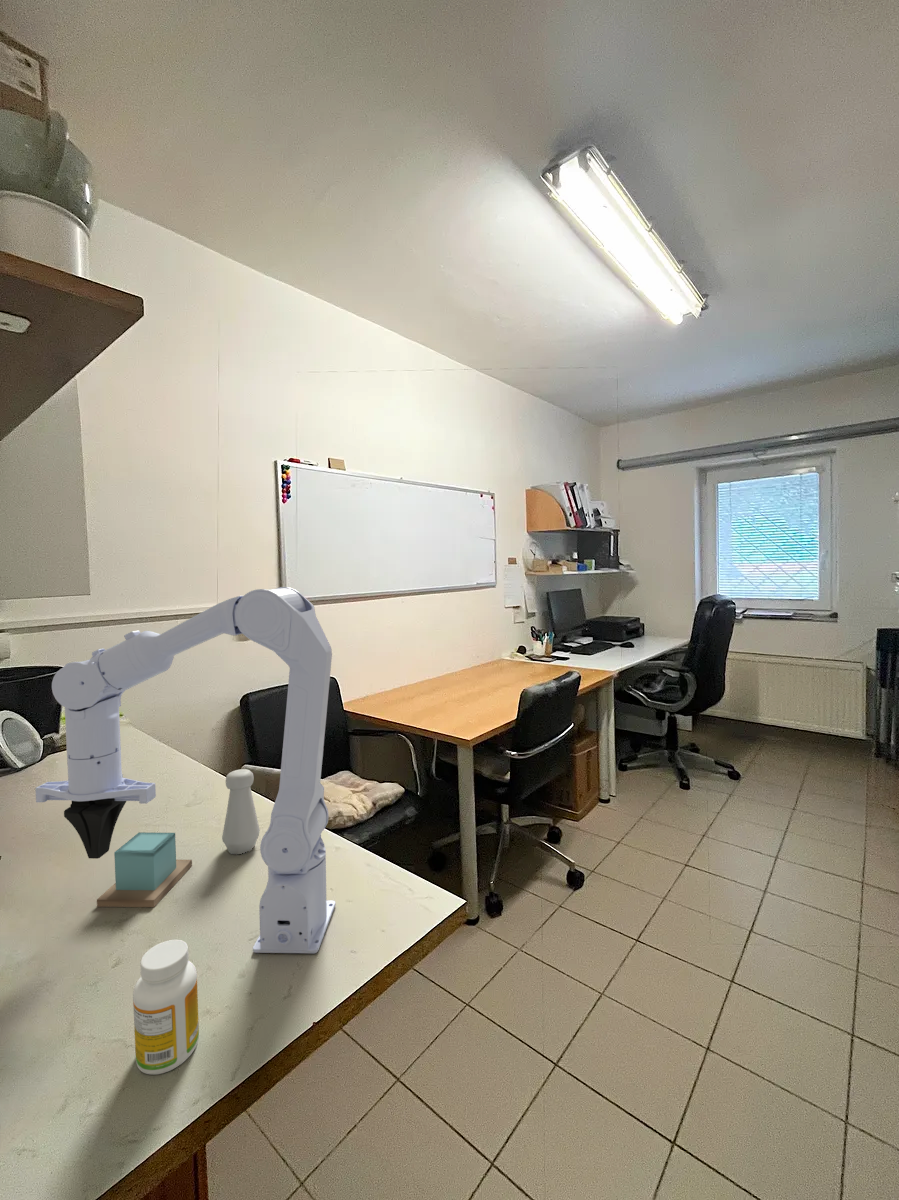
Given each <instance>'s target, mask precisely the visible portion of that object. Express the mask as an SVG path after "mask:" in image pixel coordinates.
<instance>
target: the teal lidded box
mask: <svg viewBox="0 0 899 1200" xmlns="http://www.w3.org/2000/svg"><path fill="white" fill-rule="evenodd" d="M113 855H114V875H115V877H114V878H115V883H116V890H156V888H157V887H158V886H159V885H160V884H161V883H162V882H163V881H164V880H165V879H166V878H167V877H168V876H169V875H170V874H171V873H172V872H173V871H174V870H175V869H176V860H177V845H176V832H148V831H147V832H139V831H138V833H137V834H135V835H134V836H133V837H131V838H130V839H129V840H127V842H125V843H124V844H123V845H122V846H120V847H119V848H118V849H117V850H115V851H114V853H113Z"/></svg>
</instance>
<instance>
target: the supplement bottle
mask: <svg viewBox="0 0 899 1200" xmlns="http://www.w3.org/2000/svg"><path fill="white" fill-rule="evenodd" d="M189 957H190V956H189V947H188V944H187V942H186V941H184V940H181V939H170V940H165V941H162V942H160V943H157V944H155V945H154V946H152V947H150V948H149V949H148V950H147V951H146V952H145V953H144V954H143V955H142V957H141V960H140V977H139V978H138V980H137V981H136V983H135V984H134V988H133V993H132V1002H133V1003H132V1004H133V1005H132V1006H133V1021H134V1022H133V1025H134V1048H135V1049H134V1050H135V1062H136V1066H137V1068H138V1069H139V1071H141V1073H144V1074H147V1075H162V1074H165V1073H167V1072H170V1071H172V1070H174V1069H176V1068H177V1067H179V1066H180V1065H182V1064H183V1063H184V1062H185V1061H187V1059H188V1058H190V1056H191V1055H192V1053H193V1052H194V1050H195V1049H196V1047H197V1045H198V1043H199V1039H200V1025H199V1024H200V1023H199V1022H200V1021H199V999H198V998H199V997H198V995H199V994H198V993H199V992H198V974H197V973H198V972H197V969H196V966H195V964H194V963H193V962H191V961H190V960H189Z"/></svg>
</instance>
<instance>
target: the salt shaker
mask: <svg viewBox="0 0 899 1200" xmlns="http://www.w3.org/2000/svg"><path fill="white" fill-rule="evenodd" d="M254 777H255V776H254V773H253V772H252V771H251V770H250V769H246V768H242V769H236V770H233V771H230V772H229V773H228V774H227V775H226V776H225V786H226V788H227V789H228V790H229V795H228V801H227V809H226V813H225V818H224V824H223V830H222V834H221V835H222V836H221V838H222V839H221V840H222V842H223V844H224V845H225V847H226V849H227V852H228V853H229V854H231V855H237V854H241V855H242V853H243V854H246V853H248V852H247V851H249V852H251V851H252V850H253V849H254V847H255V846H254V845H256V842H257V841H258V838H259V835H260V830H261V829H260V825H259V820H258V816H257V812H256V807H255V801H254V796H253V793H252V789H251V786H252V785H253V784H254ZM252 848H253V849H252ZM250 850H251V851H250ZM245 852H246V853H245Z"/></svg>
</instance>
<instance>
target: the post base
mask: <svg viewBox="0 0 899 1200" xmlns="http://www.w3.org/2000/svg"><path fill="white" fill-rule="evenodd" d="M192 866H193V860H192V859H176V869H175V870H174V871H173V872H172V873H171V874H170V875H169V876H168V877H167V878H166V879H165V880H164V881H163V882H162V883H161V884H160V885H159V886H158V887H157V888H156V890H116V882H115V883H113V885H111V886H110V887H109V888H108V889H107V890H105V892H103V893H102V894H101V895H100V896H98V898H97V899H96V906H97V907H103V908H104V907H105V908H106V907H111V908H113V907H114V908H115V907H117V908H124V907H125V908H155V907H156V906H157V905H158V904H159V902H161V900H162V899H163V898H165V896H166V895H167V894H168V893H169V892H170V891H171V889H172V888H174V886H175V885H176V884H178V882H179V881H180V879H182V878H183V876H185V874H186V873H187V872H188V871H189V870H190V869H191V868H192Z"/></svg>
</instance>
